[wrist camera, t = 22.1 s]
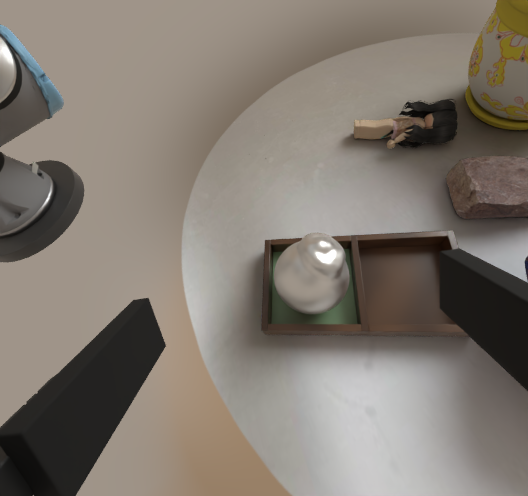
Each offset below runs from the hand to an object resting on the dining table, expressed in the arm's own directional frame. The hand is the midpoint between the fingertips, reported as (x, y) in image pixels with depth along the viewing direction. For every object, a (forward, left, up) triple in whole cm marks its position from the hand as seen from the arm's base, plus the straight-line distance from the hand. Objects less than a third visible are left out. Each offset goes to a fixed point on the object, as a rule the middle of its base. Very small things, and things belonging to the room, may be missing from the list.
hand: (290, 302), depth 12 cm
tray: (+7, +8, -24) cm, 26 cm away
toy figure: (+17, +34, -24) cm, 45 cm away
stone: (+27, +21, -24) cm, 42 cm away
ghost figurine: (+1, +8, -23) cm, 25 cm away
